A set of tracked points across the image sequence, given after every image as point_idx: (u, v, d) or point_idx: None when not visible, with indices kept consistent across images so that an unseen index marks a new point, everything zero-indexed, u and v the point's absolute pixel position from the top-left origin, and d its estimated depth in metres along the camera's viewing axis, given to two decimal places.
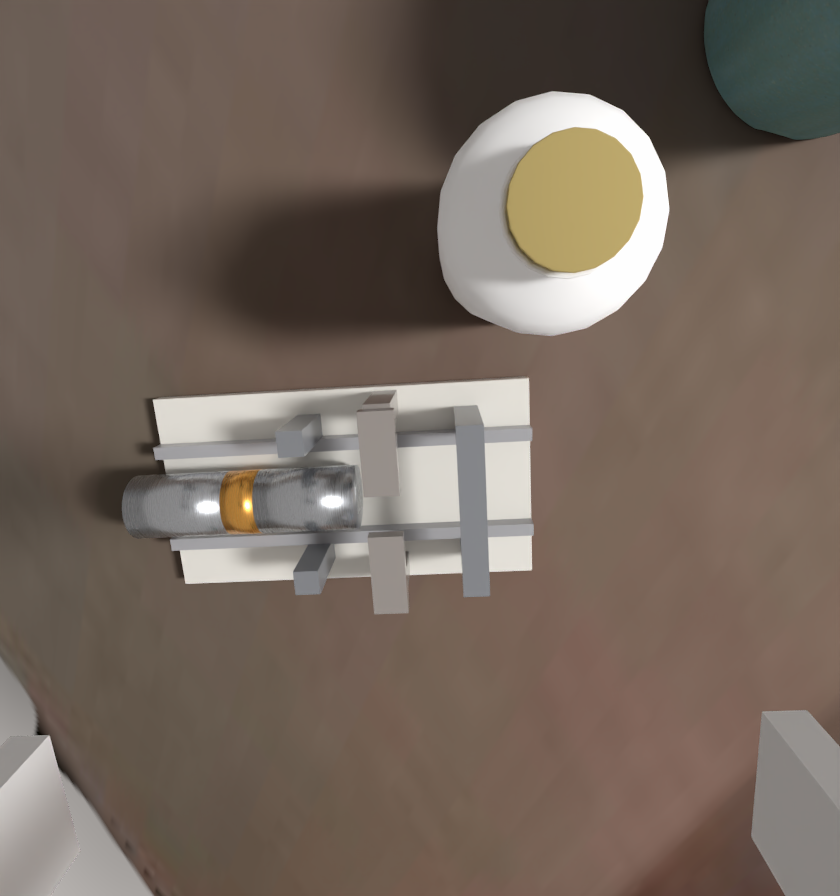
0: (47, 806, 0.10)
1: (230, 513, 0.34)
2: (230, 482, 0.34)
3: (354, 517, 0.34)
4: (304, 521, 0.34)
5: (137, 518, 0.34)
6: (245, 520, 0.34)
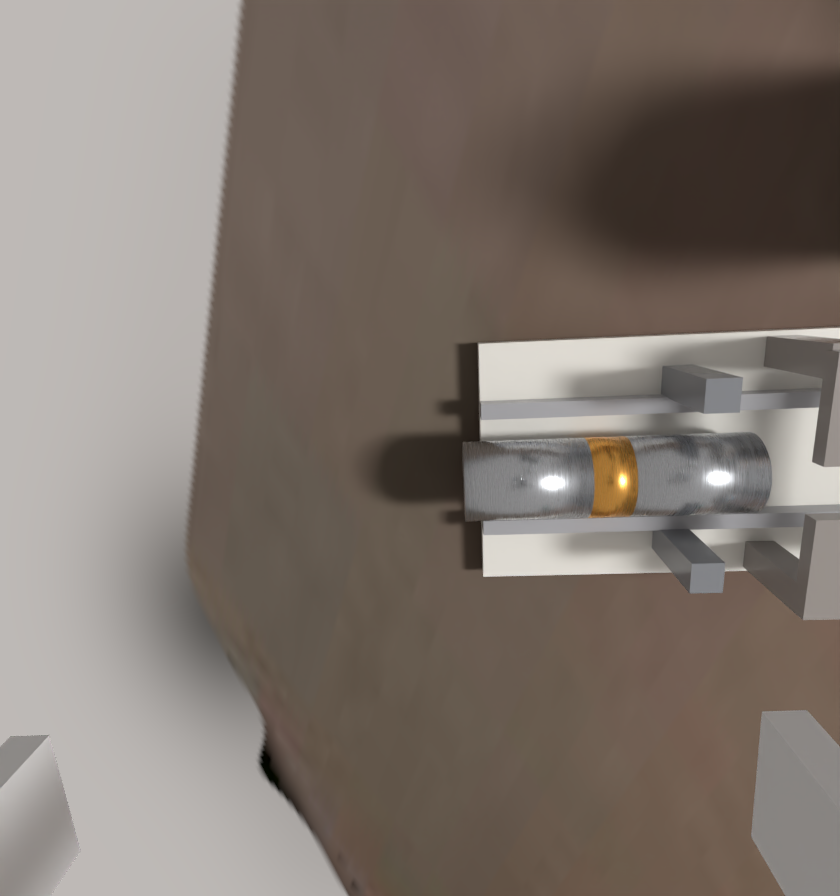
0: (47, 806, 0.10)
1: (607, 493, 0.26)
2: (602, 453, 0.27)
3: None
4: (700, 504, 0.27)
5: (485, 497, 0.27)
6: (624, 502, 0.27)
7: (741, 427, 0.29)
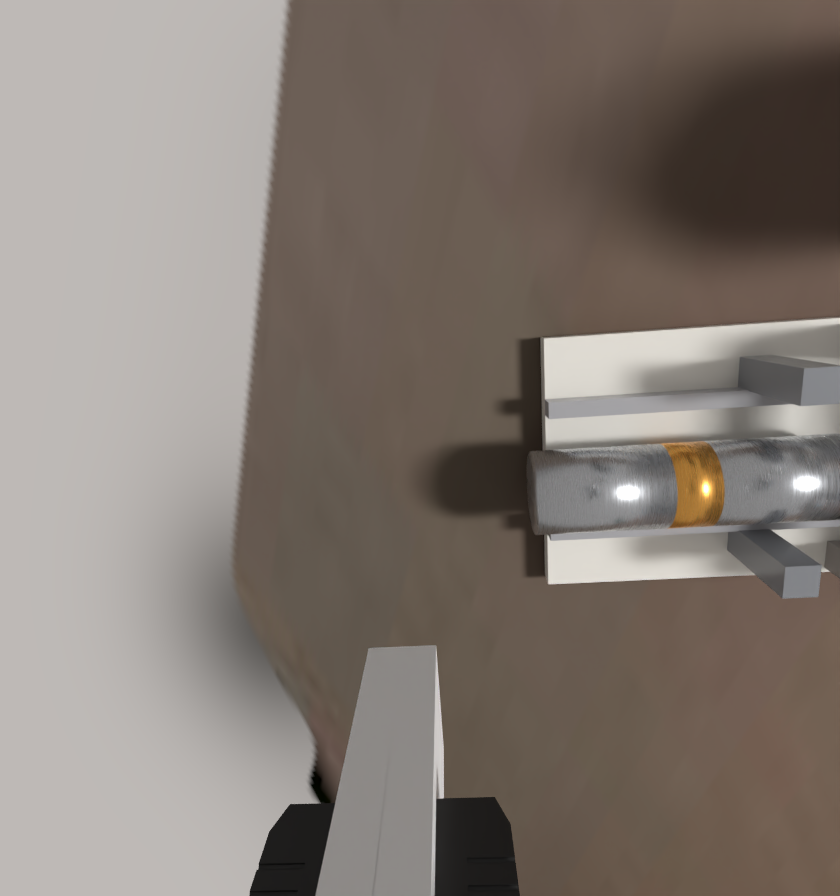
0: None
1: (690, 510, 0.25)
2: (686, 468, 0.25)
3: None
4: (786, 517, 0.25)
5: (560, 518, 0.25)
6: (706, 518, 0.25)
7: (823, 420, 0.28)
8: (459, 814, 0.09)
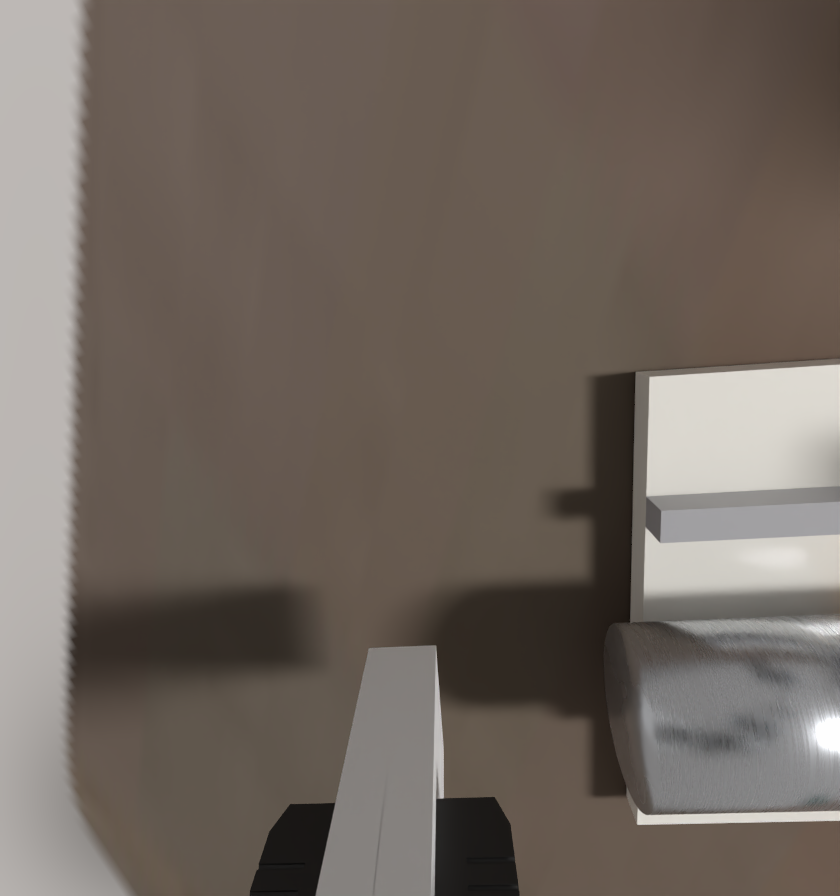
0: None
1: None
2: None
3: None
4: None
5: (698, 811, 0.12)
6: None
7: None
8: (459, 814, 0.09)
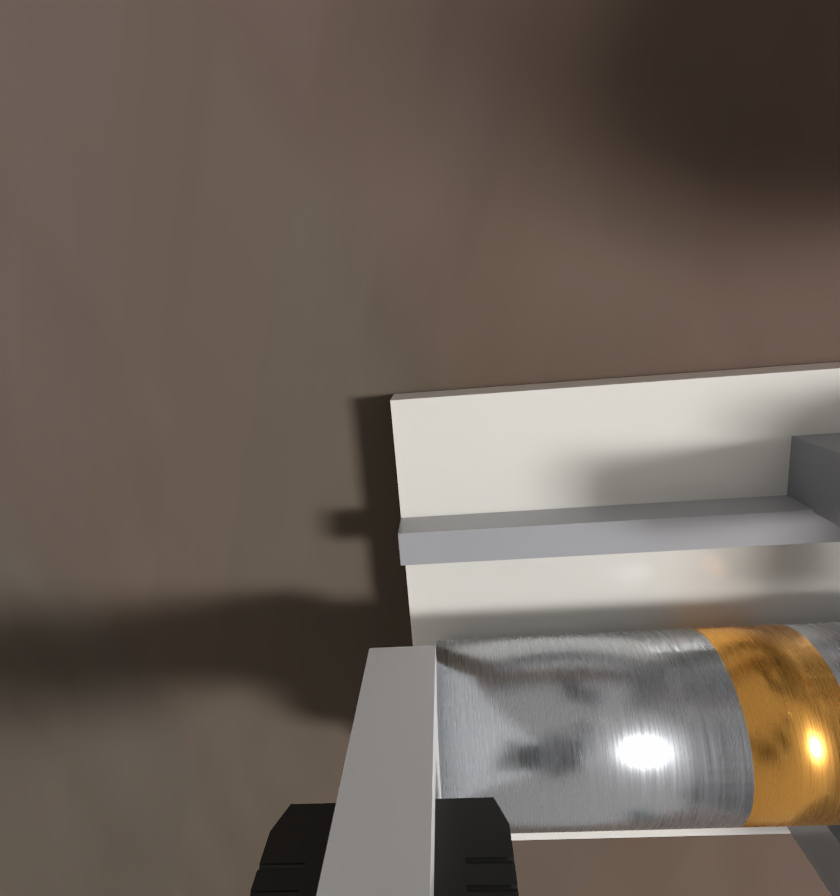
0: None
1: (776, 823, 0.11)
2: (777, 742, 0.11)
3: None
4: None
5: None
6: None
7: None
8: (458, 814, 0.09)
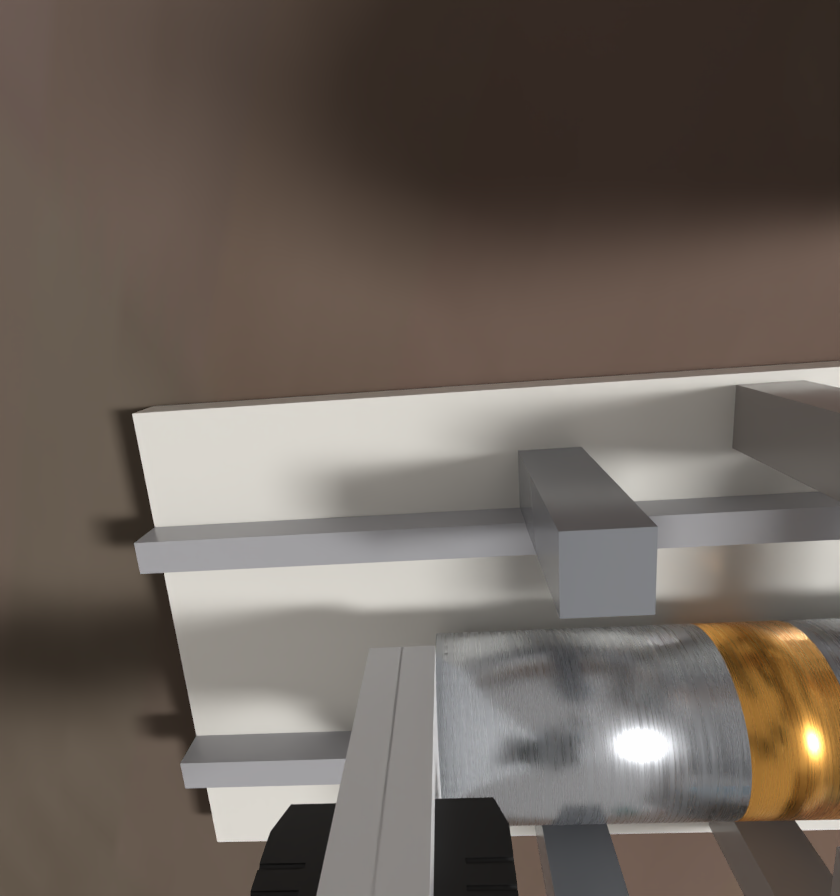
0: None
1: (774, 816, 0.11)
2: (775, 734, 0.11)
3: None
4: None
5: None
6: (805, 819, 0.12)
7: (690, 571, 0.14)
8: (458, 814, 0.09)
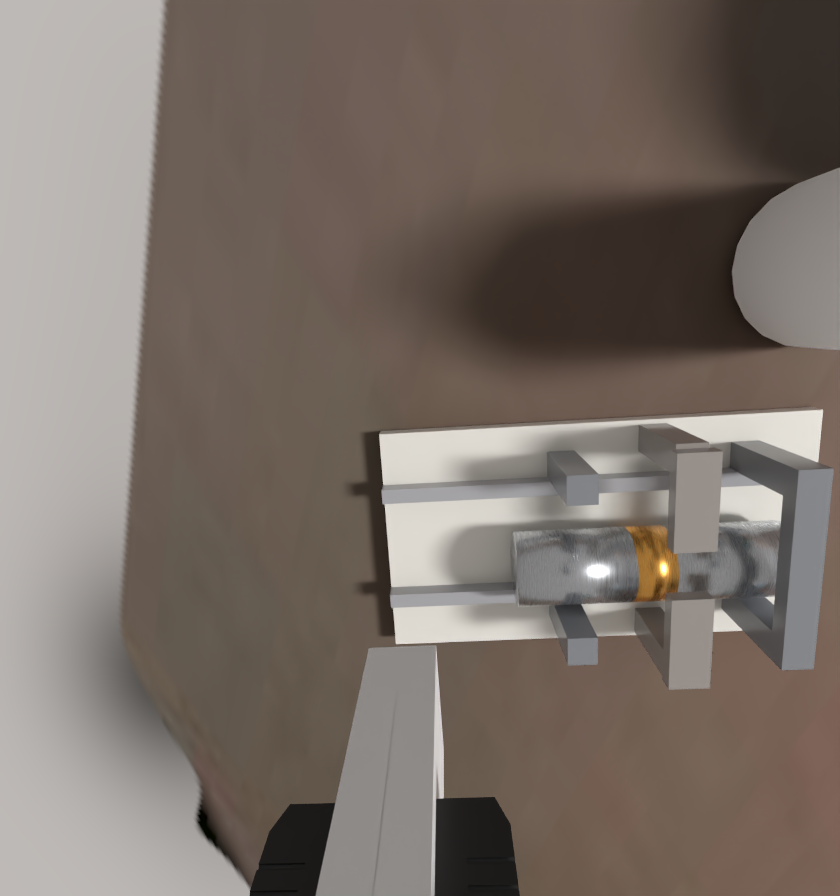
0: None
1: (649, 595, 0.29)
2: (648, 560, 0.29)
3: None
4: (729, 597, 0.30)
5: (537, 599, 0.29)
6: (662, 599, 0.30)
7: (622, 505, 0.32)
8: (459, 814, 0.09)
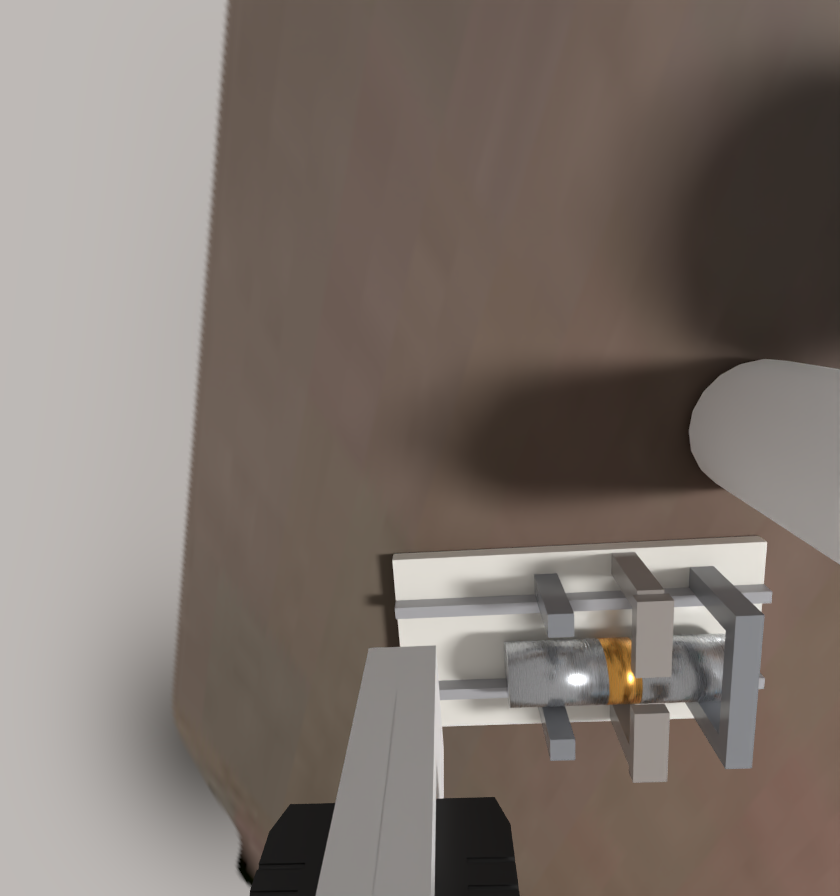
0: None
1: (618, 701, 0.35)
2: (617, 675, 0.35)
3: None
4: None
5: (525, 704, 0.35)
6: (629, 703, 0.35)
7: (598, 617, 0.38)
8: (459, 814, 0.09)
